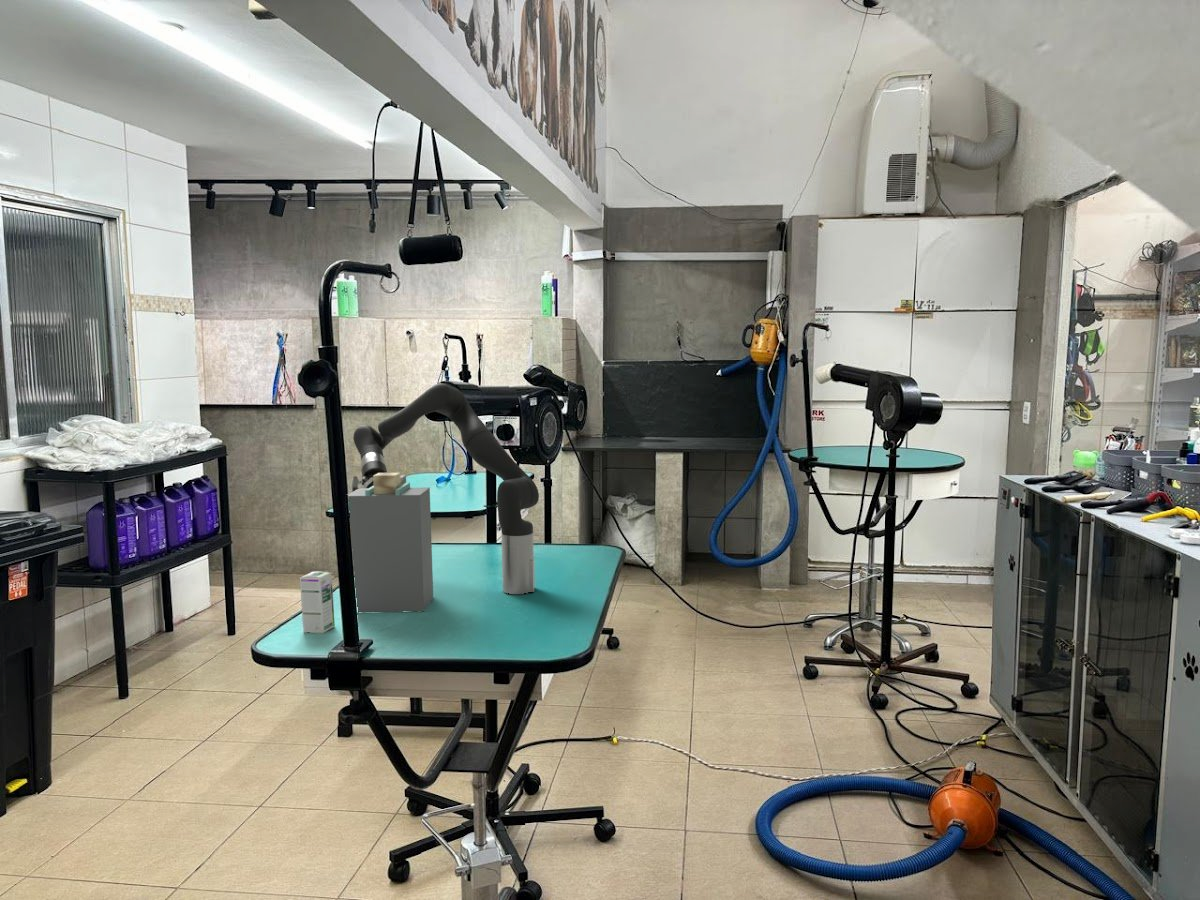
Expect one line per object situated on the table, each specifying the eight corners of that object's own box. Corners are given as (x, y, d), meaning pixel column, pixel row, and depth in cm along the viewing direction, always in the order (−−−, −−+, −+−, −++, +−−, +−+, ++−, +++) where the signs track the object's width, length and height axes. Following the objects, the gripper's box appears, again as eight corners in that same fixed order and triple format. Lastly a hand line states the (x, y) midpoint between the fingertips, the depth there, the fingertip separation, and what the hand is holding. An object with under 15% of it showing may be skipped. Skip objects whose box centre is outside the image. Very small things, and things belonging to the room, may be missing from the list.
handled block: (411, 483, 249) (410, 466, 248) (396, 493, 229) (395, 475, 228) (390, 483, 249) (390, 466, 248) (373, 494, 229) (373, 475, 228)
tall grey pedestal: (433, 597, 243) (429, 482, 240) (424, 611, 229) (419, 489, 226) (363, 598, 243) (358, 483, 240) (349, 613, 229) (344, 490, 226)
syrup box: (323, 633, 212) (320, 576, 210) (302, 632, 213) (299, 576, 211) (335, 626, 217) (332, 571, 216) (314, 625, 218) (311, 570, 217)
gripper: (352, 458, 259) (356, 490, 247) (399, 461, 265) (405, 493, 253) (348, 477, 263) (352, 510, 251) (394, 480, 269) (400, 513, 257)
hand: (378, 502), depth 252 cm, fingers open, 8 cm apart
